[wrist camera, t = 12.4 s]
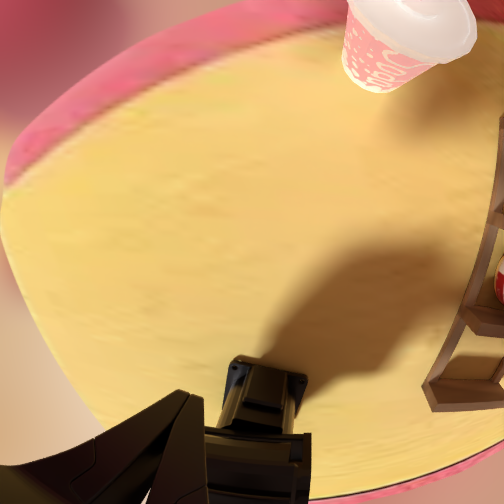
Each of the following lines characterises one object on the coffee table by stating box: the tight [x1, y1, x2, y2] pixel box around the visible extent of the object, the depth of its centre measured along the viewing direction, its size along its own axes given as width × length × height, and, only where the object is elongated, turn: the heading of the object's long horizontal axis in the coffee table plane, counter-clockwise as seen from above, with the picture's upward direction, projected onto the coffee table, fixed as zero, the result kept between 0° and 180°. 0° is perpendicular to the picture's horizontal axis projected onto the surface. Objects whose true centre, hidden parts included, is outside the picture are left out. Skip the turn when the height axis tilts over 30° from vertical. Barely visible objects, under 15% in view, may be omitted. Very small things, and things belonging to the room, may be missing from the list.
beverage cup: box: [341, 0, 477, 93], centre depth 8 cm, size 6×6×14 cm
